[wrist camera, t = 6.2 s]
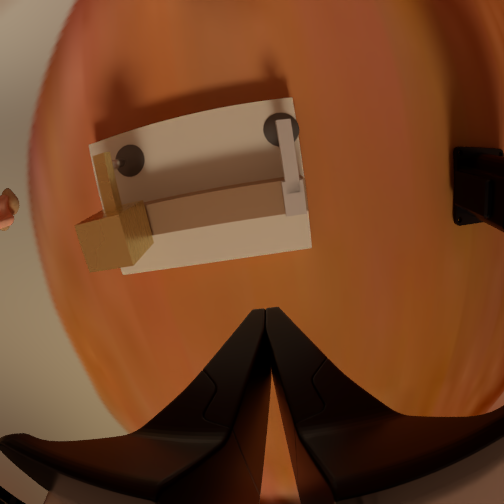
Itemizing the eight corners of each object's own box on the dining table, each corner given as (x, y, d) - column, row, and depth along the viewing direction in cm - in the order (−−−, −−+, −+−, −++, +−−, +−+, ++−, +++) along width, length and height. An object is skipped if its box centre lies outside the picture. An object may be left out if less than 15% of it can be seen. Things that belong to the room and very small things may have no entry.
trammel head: (140, 145, 17) (103, 148, 12) (161, 235, 19) (133, 265, 14) (102, 157, 17) (59, 165, 12) (123, 241, 19) (89, 272, 14)
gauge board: (291, 99, 17) (298, 91, 14) (310, 241, 20) (319, 259, 17) (96, 144, 18) (72, 147, 15) (128, 268, 21) (111, 288, 18)
